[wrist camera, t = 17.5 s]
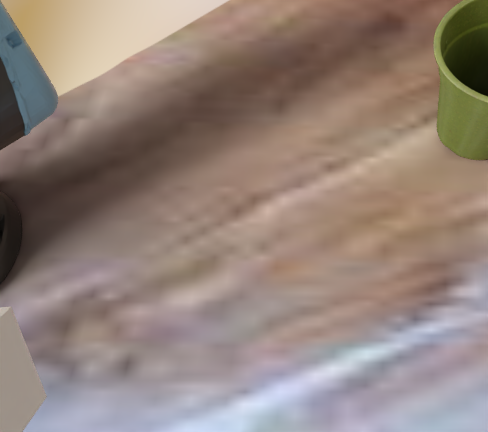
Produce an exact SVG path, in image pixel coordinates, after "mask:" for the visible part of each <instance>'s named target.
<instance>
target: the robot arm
mask: <svg viewBox="0 0 488 432" xmlns="http://www.w3.org/2000/svg"><path fill="white" fill-rule="evenodd" d="M57 104H58V95H57V92H56V90H55V88H54V86H53V85H52V83H51V81H50V80H49V78H48V76H47V75H46V73H45V71H44V70H43V68H42V66H41V65H40V63H39V62H38V60H37V58H36V57H35V55H34V53H33V52H32V50H31V49H30V47H29V45H28V44H27V42H26V41H25V39H24V37H23V36H22V34H21V32H20V31H19V29H18V28H17V26H16V25H15V23H14V22H13V20H12V18H11V17H10V15H9V13H8V12H7V10H6V9H5V7H4V5H3V4H2V2H1V1H0V150H1V149H3V148H5V147H6V146H8V145H10V144H11V143H13V142H15V141H16V140H18V139H19V138H21V137H23V136H26V135H28V134H29V133H30V131H31V129H33V128H34V127H35V126H37V125H38V124H39V123H41V122H42V121H44V120H45V119H46V118H48V117H49V116H50V115H52V114H53V113H54V111H55V109H56V107H57ZM21 236H22V224H21V218H20V214H19V212H18V209H17V207H16V205H15V204H14V202H13V201H12V200H11V199H10V198H9V197H8V196H7V195H6V194H4V193H2V192H1V191H0V284H1V282H2V281H3V280H4V278H5V277H6V276H7V274H8V272H9V271H10V269H11V267H12V265H13V263H14V261H15V259H16V256H17V254H18V251H19V247H20V243H21ZM46 397H47V396H46V393H45V391H44V388H43V386H42V383H41V381H40V378H39V376H38V373H37V371H36V368H35V366H34V363H33V360H32V358H31V355H30V353H29V350H28V348H27V345H26V343H25V340H24V338H23V335H22V333H21V330H20V328H19V325H18V323H17V320H16V317H15V315H14V312H13V310H12V307H2V308H0V432H22V431H23V430H24V429H25V427H26V426H27V424H28V423H29V421H30V420H31V419H32V417H33V416H34V414H35V413H36V411H37V410H38V409H39V407H40V406H41V404H42V403H43V401H44V400H45V399H46Z"/></svg>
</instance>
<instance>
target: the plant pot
mask: <svg viewBox="0 0 488 432" xmlns="http://www.w3.org/2000/svg"><path fill="white" fill-rule="evenodd" d="M434 55H435V59H436V62H437V64H438V66H439V75H440V89H439V102H438V116H437V132H438V135H439V138H440V140H441V141H442V143H443V144H444V145H445V146H447V147H448V148H449V149H451V150H452V151H453V152H454V153H456V154H457V155H459V156H461V157H464V158H468V159H473V160H487V159H488V0H463V1H461V2H460V3H458V4H457V5H456V6H454V7H453V8H452V9H451V10H450V11H448V12H447V14H446V15H445V16H444V17H443V19H442V20H441V22H440V23H439V25H438V27H437V29H436V32H435V36H434Z"/></svg>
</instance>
